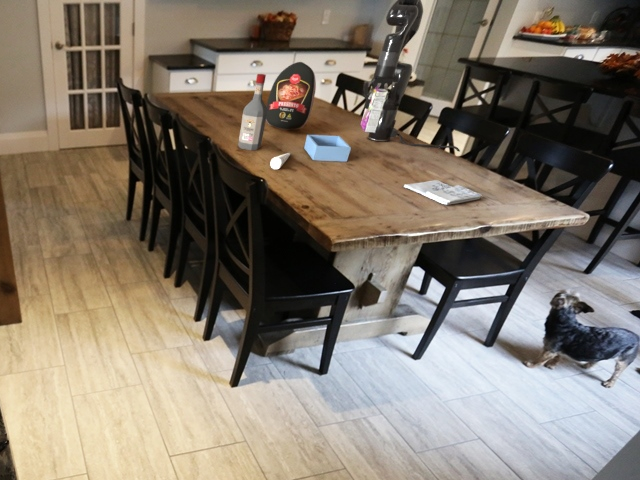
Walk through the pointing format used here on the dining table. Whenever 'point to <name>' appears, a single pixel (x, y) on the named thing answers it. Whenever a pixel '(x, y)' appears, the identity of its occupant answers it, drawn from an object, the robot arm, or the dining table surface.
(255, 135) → the liquor
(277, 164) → the unicorn horn
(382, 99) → the candy bar box
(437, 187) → the folded newspaper
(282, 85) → the packaged food
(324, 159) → the crate
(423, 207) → the dining table surface
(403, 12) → the robot arm
